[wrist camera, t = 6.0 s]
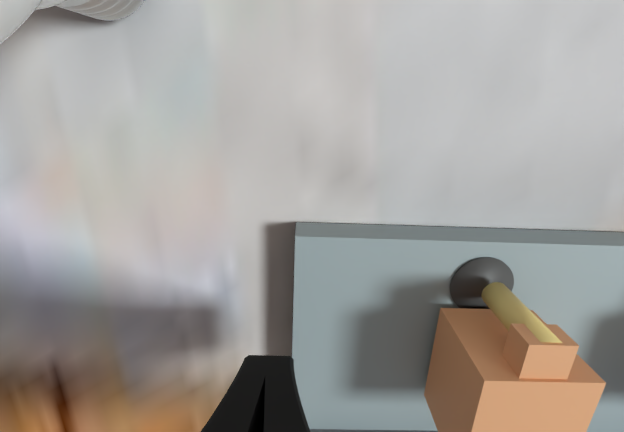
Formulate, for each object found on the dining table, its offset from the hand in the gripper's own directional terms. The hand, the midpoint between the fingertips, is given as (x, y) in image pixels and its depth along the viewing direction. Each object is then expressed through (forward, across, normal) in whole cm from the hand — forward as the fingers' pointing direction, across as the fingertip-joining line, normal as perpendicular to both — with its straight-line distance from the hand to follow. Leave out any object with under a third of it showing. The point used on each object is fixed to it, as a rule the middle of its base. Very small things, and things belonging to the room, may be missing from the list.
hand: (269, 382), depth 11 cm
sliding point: (+1, -7, -1) cm, 7 cm away
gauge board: (+3, -9, +1) cm, 9 cm away
